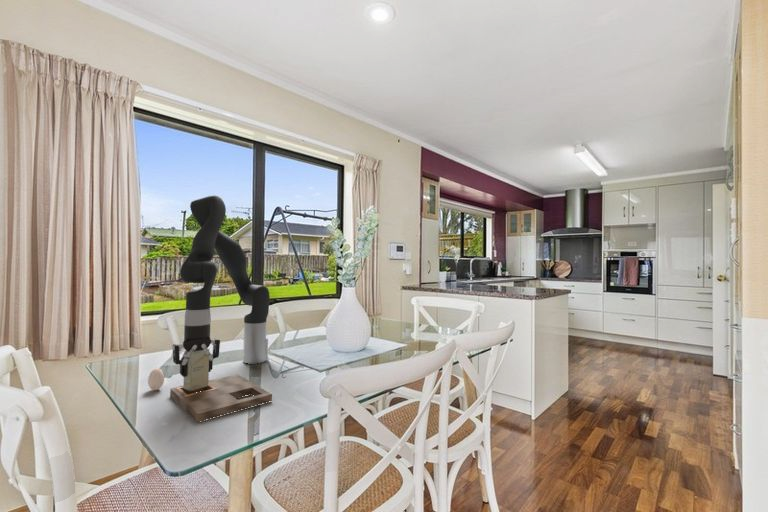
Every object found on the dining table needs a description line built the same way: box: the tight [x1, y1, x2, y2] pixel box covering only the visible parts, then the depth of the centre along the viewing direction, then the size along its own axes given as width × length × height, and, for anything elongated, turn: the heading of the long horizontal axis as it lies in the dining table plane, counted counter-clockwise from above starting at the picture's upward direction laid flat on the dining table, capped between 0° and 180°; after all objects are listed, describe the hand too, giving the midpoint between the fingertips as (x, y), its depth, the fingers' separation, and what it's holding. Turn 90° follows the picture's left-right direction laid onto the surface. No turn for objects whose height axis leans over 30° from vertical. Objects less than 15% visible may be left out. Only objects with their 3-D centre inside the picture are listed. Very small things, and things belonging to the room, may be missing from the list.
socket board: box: [169, 373, 273, 423], centre depth 118 cm, size 22×26×3 cm
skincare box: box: [182, 348, 210, 391], centre depth 119 cm, size 6×4×12 cm
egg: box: [147, 367, 165, 391], centre depth 124 cm, size 5×5×7 cm
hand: (196, 373), depth 119 cm, fingers closed on skincare box, 7 cm apart
